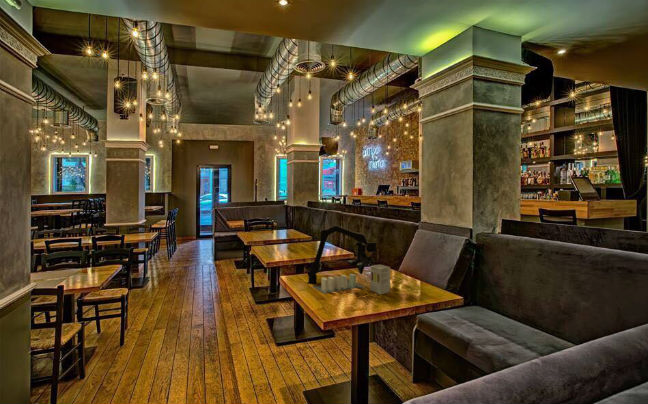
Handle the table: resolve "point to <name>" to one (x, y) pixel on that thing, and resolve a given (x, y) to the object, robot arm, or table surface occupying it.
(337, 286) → the domino
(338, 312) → the table surface
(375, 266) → the supplement box
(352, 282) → the domino
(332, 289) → the domino
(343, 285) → the domino
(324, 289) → the domino
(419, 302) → the table surface
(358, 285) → the mat
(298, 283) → the table surface
